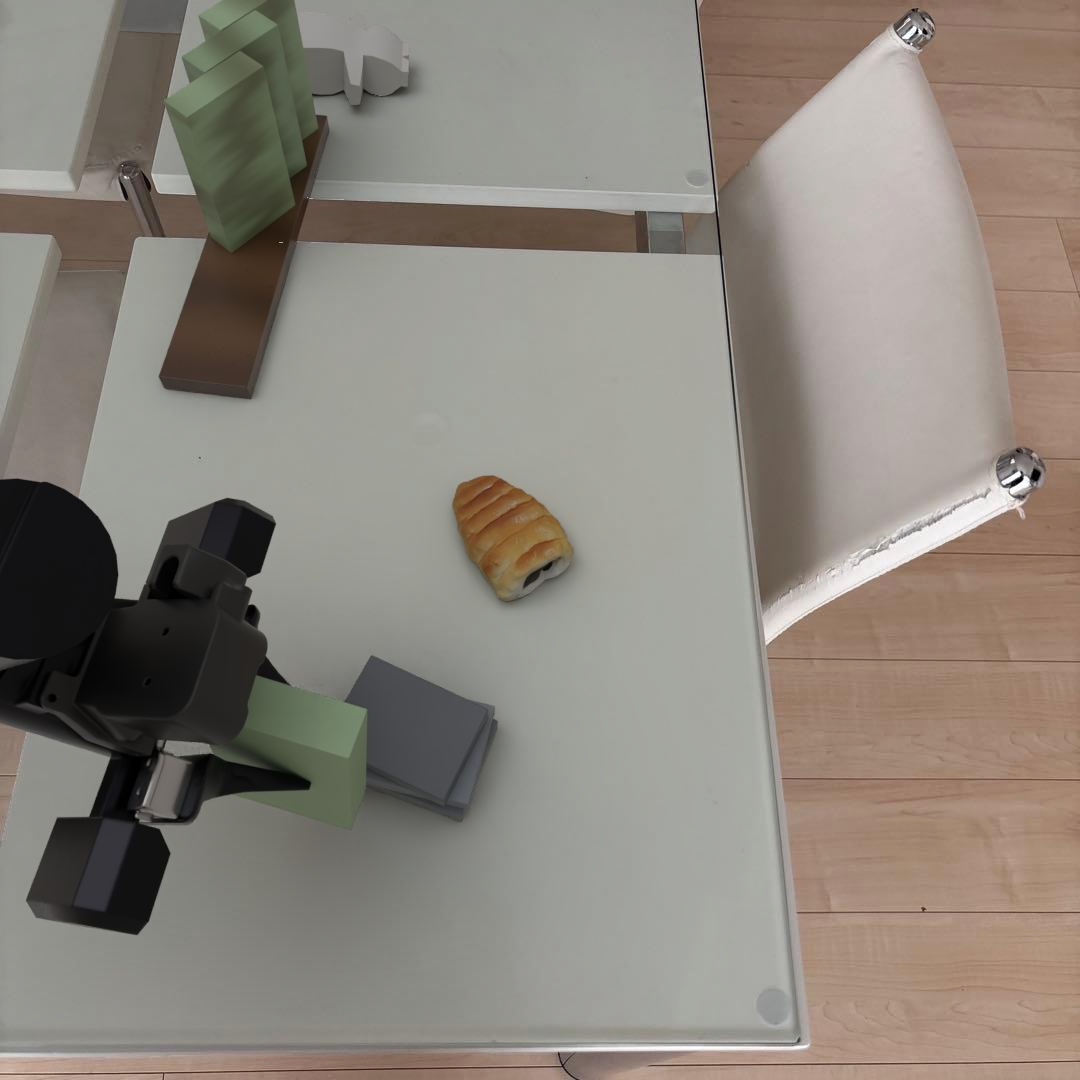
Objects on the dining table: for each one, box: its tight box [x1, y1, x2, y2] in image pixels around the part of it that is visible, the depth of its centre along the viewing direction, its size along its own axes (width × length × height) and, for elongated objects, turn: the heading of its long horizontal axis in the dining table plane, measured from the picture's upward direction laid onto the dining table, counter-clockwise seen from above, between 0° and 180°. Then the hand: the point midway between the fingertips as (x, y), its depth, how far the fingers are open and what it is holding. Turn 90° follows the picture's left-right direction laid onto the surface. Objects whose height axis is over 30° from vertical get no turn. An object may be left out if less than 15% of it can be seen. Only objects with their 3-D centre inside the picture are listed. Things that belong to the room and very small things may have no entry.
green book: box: [208, 675, 367, 831], centre depth 48 cm, size 7×2×13 cm, turn 75°
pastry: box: [451, 474, 574, 602], centre depth 67 cm, size 9×7×4 cm
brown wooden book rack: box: [158, 0, 330, 400], centre depth 72 cm, size 29×7×14 cm, turn 174°
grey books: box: [344, 655, 498, 823], centre depth 59 cm, size 9×7×5 cm
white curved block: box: [297, 10, 410, 106], centre depth 86 cm, size 10×5×15 cm
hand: (314, 756), depth 48 cm, fingers closed on green book, 3 cm apart
